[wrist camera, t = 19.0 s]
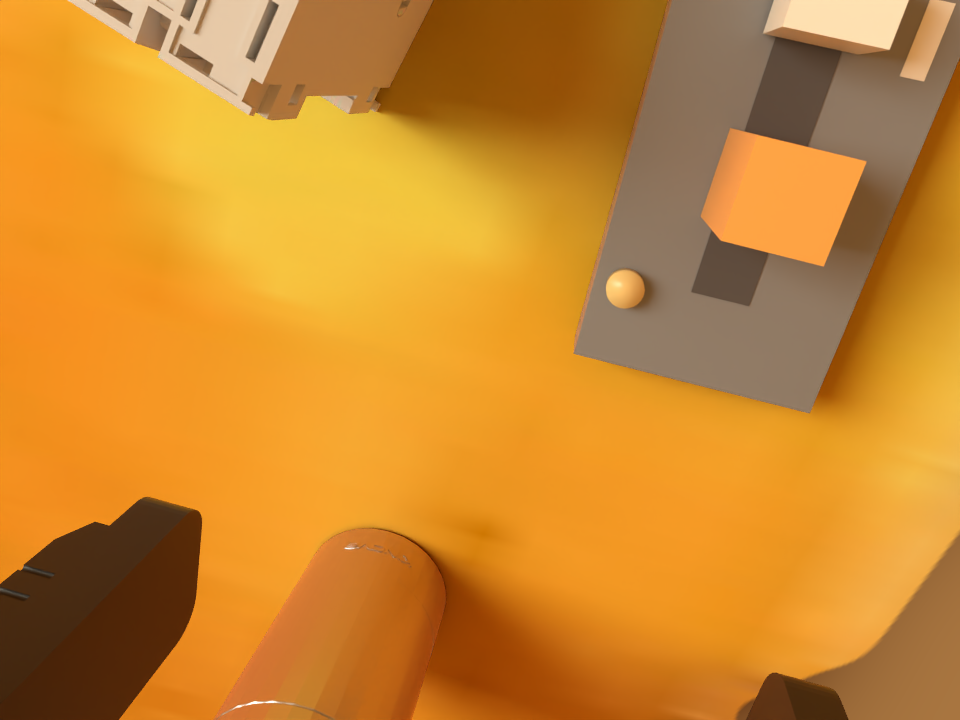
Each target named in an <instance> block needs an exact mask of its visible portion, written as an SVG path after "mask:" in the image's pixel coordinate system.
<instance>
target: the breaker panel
mask: <svg viewBox="0 0 960 720" xmlns="http://www.w3.org/2000/svg"><path fill="white" fill-rule="evenodd" d="M773 1H774V0H668V3H667V7H666V10H665V14H664V17H663V21H662V25H661V28H660V32H659V35H658V39H657V43H656V46H655V50H654V54H653V57H652V61H651V64H650V68H649V72H648V75H647V79H646V82H645V86H644V90H643V93H642V97H641V100H640V104H639V108H638V111H637V115H636V118H635V122H634V126H633V129H632V133H631V137H630V140H629V144H628V147H627V151H626V155H625V158H624V162H623V165H622V169H621V173H620V176H619V180H618V183H617V187H616V191H615V194H614V198H613V202H612V205H611V209H610V212H609V216H608V220H607V223H606V227H605V230H604V234H603V238H602V241H601V245H600V248H599V252H598V256H597V259H596V263H595V267H594V270H593V274H592V277H591V281H590V285H589V288H588V292H587V295H586V299H585V303H584V306H583V310H582V313H581V317H580V321H579V324H578V328H577V332H576V335H575V345H574V354H577V355H581V356H585V357H589V358H593V359H597V360H601V361H605V362H609V363H613V364H617V365H621V366H624V367H628V368H632V369H636V370H640V371H644V372H648V373H652V374H656V375H660V376H664V377H668V378H672V379H676V380H680V381H684V382H688V383H692V384H696V385H700V386H704V387H708V388H711V389H715V390H719V391H723V392H727V393H731V394H735V395H739V396H743V397H747V398H751V399H755V400H759V401H763V402H767V403H771V404H775V405H779V406H783V407H787V408H791V409H794V410H798V411H802V412H806V413H810V412H811V409H812V407H813V404H814V402H815V400H816V397H817V395H818V393H819V390H820V388H821V385H822V383H823V381H824V378H825V376H826V374H827V371H828V369H829V367H830V364H831V362H832V359H833V357H834V355H835V352H836V350H837V348H838V345H839V343H840V340H841V338H842V336H843V333H844V331H845V329H846V326H847V324H848V322H849V319H850V317H851V314H852V312H853V310H854V307H855V305H856V303H857V300H858V298H859V295H860V293H861V291H862V288H863V286H864V284H865V281H866V279H867V277H868V274H869V272H870V269H871V267H872V265H873V262H874V260H875V258H876V255H877V253H878V250H879V248H880V246H881V243H882V241H883V239H884V236H885V234H886V232H887V229H888V227H889V224H890V222H891V220H892V217H893V215H894V213H895V210H896V208H897V206H898V203H899V201H900V198H901V196H902V194H903V191H904V189H905V187H906V184H907V182H908V179H909V177H910V175H911V172H912V170H913V168H914V165H915V163H916V161H917V158H918V156H919V153H920V151H921V149H922V146H923V144H924V142H925V139H926V137H927V134H928V132H929V130H930V127H931V125H932V123H933V120H934V118H935V116H936V113H937V111H938V108H939V106H940V104H941V101H942V99H943V97H944V94H945V92H946V89H947V87H948V85H949V82H950V80H951V78H952V75H953V73H954V71H955V68H956V66H957V63H958V61H959V59H960V0H909V1H908V4H907V6H906V9H905V11H904V14H903V17H902V19H901V22H900V24H899V27H898V29H897V32H896V35H895V37H894V40H893V42H892V45H891V47H890V50H885V51H879V52H872V53H866V54H859V55H858V54H853V53H849V52H844V51H840V50H835V49H831V48H826V47H821V46H817V45H812V44H808V43H803V42H799V41H794V40H789V39H785V38H780V37H776V36H771V35H767V34H763V32H764V29H765V26H766V23H767V19H768V16H769V13H770V10H771V7H772V4H773ZM730 128H732V129H736V130H741V131H745V132H749V133H753V134H757V135H761V136H765V137H769V138H774V139H778V140H782V141H786V142H790V143H794V144H798V145H803V146H807V147H811V148H815V149H819V150H823V151H827V152H831V153H835V154H839V155H843V156H847V157H851V158H855V159H859V160H863V161H867V162H866V165H865V167H864V169H863V172H862V174H861V177H860V179H859V182H858V184H857V187H856V189H855V191H854V194H853V196H852V199H851V201H850V204H849V206H848V208H847V211H846V213H845V216H844V218H843V221H842V223H841V225H840V228H839V230H838V233H837V235H836V238H835V240H834V242H833V245H832V247H831V250H830V252H829V255H828V257H827V260H826V262H825V264H824V266H820V265H816V264H812V263H808V262H804V261H800V260H796V259H792V258H788V257H784V256H780V255H776V254H772V253H768V252H764V251H760V250H756V249H752V248H748V247H744V246H740V245H736V244H732V243H728V242H724V241H721V240H720V239H719V238H718V237H717V236H716V234H715V233H714V232H713V231H712V230H711V228H710V227H709V226H708V225H707V224H706V222H705V221H704V220H703V219H702V218H701V213H702V210H703V207H704V204H705V201H706V198H707V195H708V192H709V189H710V186H711V183H712V180H713V177H714V174H715V171H716V169H717V166H718V163H719V160H720V157H721V154H722V151H723V148H724V145H725V142H726V139H727V136H728V133H729V130H730Z"/></svg>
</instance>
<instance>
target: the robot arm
mask: <svg viewBox="0 0 960 720" xmlns="http://www.w3.org/2000/svg"><path fill="white" fill-rule="evenodd" d="M201 530H202V518H201V514H200V513H199V511H197V510H194V509H190V508H187V507H183V506H179V505H176V504H172V503H169V502H165V501H161V500H158V499H154V498H151V497H144V498H142V499H140V500H139V501H137V502H136V503H135V504H134V505H133V506H131V507H130V508H129V509H128V510H127V511H126V512H125V513H124V514H122V515H121V516H120V517H119V518H118V519H117V520H116V521H114V522H113V523H112V524H111V525H110V526H108V525H105V524H101V523H98V522H94V523H91V524H89V525H87V526H84V527H82V528H80V529H78V530H75V531H73V532H71V533H68V534H66V535H64V536H61V537H59V538H57V539H55V540H53V541H52V542H51V543H50V544H49V545H47V546H46V547H45V548H44V549H42V550H41V551H40V552H39V553H38V554H36V555H35V556H34V557H33V558H31V559H30V560H29V561H28V562H27V563H25V564H24V567H23V569H22V570H21V571H20V570H17V571H16V572H14V573H13V574H12V575H11V576H10V577H8V578H7V579H6V580H5V581H3V582H2V583H1V584H0V720H119V719H120V717H121V716H122V715H123V713H124V712H125V711H126V710H127V708H128V707H129V706H130V704H131V703H132V702H133V700H134V699H135V698H136V696H137V695H138V694H139V693H140V691H141V690H142V689H143V687H144V686H145V685H146V683H147V682H148V681H149V679H150V678H151V677H152V676H153V674H154V673H155V672H156V670H157V669H158V668H159V666H160V665H161V664H162V663H163V661H164V660H165V659H166V657H167V656H168V655H169V653H170V652H171V651H172V649H173V648H174V647H175V646H176V644H177V643H178V641H179V640H180V638H181V637H182V635H183V633H184V631H185V629H186V627H187V625H188V623H189V620H190V618H191V615H192V612H193V608H194V604H195V600H196V590H197V578H198V566H199V554H200V542H201ZM445 605H446V589H445V585H444V581H443V578H442V576H441V574H440V572H439V570H438V568H437V566H436V564H435V563H434V562H433V561H432V559H431V558H430V557H429V556H428V554H427V553H425V552H424V551H423V550H422V549H421V548H420V547H418V546H417V545H416V544H414V543H413V542H411V541H409V540H408V539H406V538H404V537H402V536H400V535H397V534H394V533H392V532H389V531H384V530H379V529H354V530H350V531H345V532H343V533H340V534H338V535H336V536H334V537H332V538H331V539H329V540H328V541H327V542H325V543H324V544H323V545H322V546H321V547H320V549H319V550H318V551H317V553H316V554H315V555H314V557H313V559H312V560H311V562H310V564H309V565H308V567H307V568H306V570H305V572H304V573H303V575H302V577H301V578H300V580H299V581H298V583H297V585H296V586H295V588H294V589H293V591H292V592H291V594H290V596H289V597H288V599H287V600H286V602H285V604H284V605H283V607H282V609H281V610H280V612H279V614H278V615H277V617H276V618H275V620H274V622H273V623H272V625H271V627H270V628H269V630H268V632H267V633H266V635H265V636H264V638H263V640H262V641H261V643H260V645H259V646H258V648H257V650H256V651H255V653H254V654H253V656H252V658H251V659H250V661H249V663H248V664H247V666H246V668H245V669H244V671H243V672H242V674H241V676H240V677H239V679H238V681H237V682H236V684H235V686H234V687H233V689H232V690H231V692H230V694H229V695H228V697H227V699H226V700H225V702H224V704H223V705H222V707H221V708H220V710H219V712H218V713H217V715H216V717H215V718H214V720H412V717H413V713H414V710H415V707H416V703H417V700H418V697H419V693H420V690H421V687H422V683H423V680H424V676H425V673H426V670H427V666H428V663H429V660H430V657H431V654H432V651H433V647H434V644H435V640H436V637H437V634H438V630H439V627H440V623H441V620H442V617H443V613H444V609H445ZM746 720H848V717H847V715H846V713H845V710H844V707H843V705H842V703H841V700H840V698H839V696H838V694H837V693H836V692H835V691H834V690H833V689H831V688H828V687H825V686H822V685H818V684H815V683H811V682H807V681H804V680H800V679H797V678H793V677H789V676H786V675H782V674H778V673H772V674H770V675H769V676H768V677H767V678H766V679H765V681H764V683H763V685H762V687H761V689H760V691H759V693H758V695H757V697H756V700H755V702H754V704H753V706H752V708H751V710H750V712H749V715H748V717H747V719H746Z"/></svg>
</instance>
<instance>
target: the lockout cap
mask: <svg viewBox="0 0 960 720" xmlns="http://www.w3.org/2000/svg"><path fill="white" fill-rule="evenodd" d="M866 162H867V161H863V160H859V159H855V158H851V157H847V156H843V155H839V154H835V153H831V152H827V151H823V150H819V149H815V148H811V147H807V146H803V145H798V144H794V143H790V142H786V141H782V140H778V139H774V138H769V137H765V136H761V135H757V134H753V133H749V132H745V131H741V130H736V129H732V128H730V130H729V133H728V136H727V139H726V142H725V145H724V148H723V151H722V154H721V157H720V160H719V163H718V166H717V169H716V171H715V174H714V177H713V180H712V183H711V186H710V189H709V192H708V195H707V198H706V201H705V204H704V207H703V210H702V213H701V218H702V219H703V220H704V221H705V222H706V224H707V225H708V226H709V227H710V228H711V230H712V231H713V232H714V233H715V234H716V236H717V237H718V238H719V239H720V240H721V241H724V242H728V243H732V244H736V245H740V246H744V247H748V248H752V249H756V250H760V251H764V252H768V253H772V254H776V255H780V256H784V257H788V258H792V259H796V260H800V261H804V262H808V263H812V264H816V265H820V266H824V264H825V262H826V260H827V257H828V255H829V252H830V250H831V247H832V245H833V242H834V240H835V238H836V235H837V233H838V230H839V228H840V225H841V223H842V221H843V218H844V216H845V213H846V211H847V208H848V206H849V204H850V201H851V199H852V196H853V194H854V191H855V189H856V187H857V184H858V182H859V179H860V177H861V174H862V172H863V169H864V167H865V165H866Z"/></svg>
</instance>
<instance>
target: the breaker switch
mask: <svg viewBox="0 0 960 720" xmlns="http://www.w3.org/2000/svg"><path fill="white" fill-rule="evenodd" d="M908 1H909V0H774V1H773V4H772V7H771V10H770V13H769V16H768V19H767V23H766V26H765V29H764V32H763V34H767V35H771V36H776V37H780V38H785V39H789V40H794V41H799V42H803V43H808V44H812V45H817V46H821V47H826V48H831V49H835V50H840V51H844V52H849V53H853V54H858V55H859V54H866V53H872V52H879V51H885V50H890V47H891V45H892V42H893V40H894V37H895V35H896V32H897V29H898V27H899V24H900V22H901V19H902V17H903V14H904V11H905V9H906V6H907V4H908Z"/></svg>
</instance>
